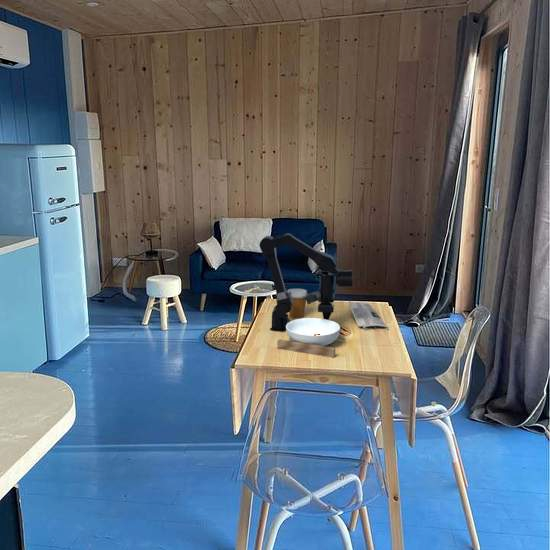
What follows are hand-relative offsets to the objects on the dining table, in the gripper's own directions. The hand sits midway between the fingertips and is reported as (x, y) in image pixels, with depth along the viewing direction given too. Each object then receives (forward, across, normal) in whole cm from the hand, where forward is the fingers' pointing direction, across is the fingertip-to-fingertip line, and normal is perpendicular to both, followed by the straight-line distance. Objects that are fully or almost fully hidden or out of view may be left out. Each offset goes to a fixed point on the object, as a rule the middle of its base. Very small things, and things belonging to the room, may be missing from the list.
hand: (325, 322), depth 215 cm
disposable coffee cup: (+4, -18, -13) cm, 23 cm away
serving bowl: (+4, +14, -5) cm, 15 cm away
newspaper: (+4, -22, +17) cm, 28 cm away
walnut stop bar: (+4, +25, -7) cm, 26 cm away
